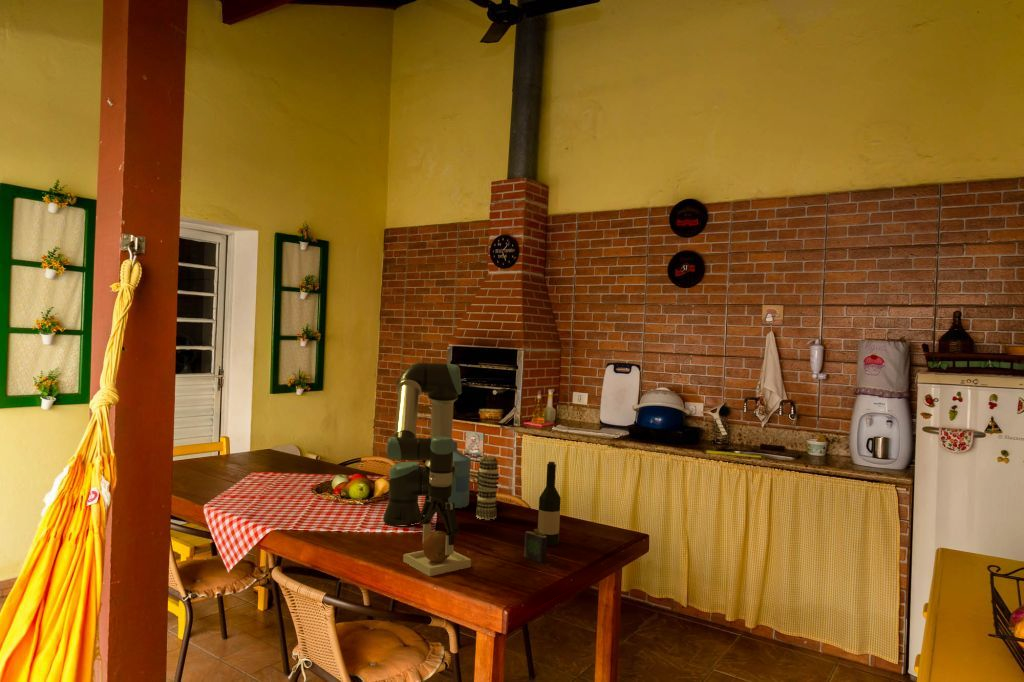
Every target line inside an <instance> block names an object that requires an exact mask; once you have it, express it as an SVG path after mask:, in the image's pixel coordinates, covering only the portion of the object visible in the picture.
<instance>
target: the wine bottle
mask: <svg viewBox="0 0 1024 682" xmlns="http://www.w3.org/2000/svg"><path fill="white" fill-rule="evenodd" d="M556 470H557V464H556V461H548V463H547V464H546V479H545V480H546V483H545V488H544V490H543V491H542V493H541V494H540V496H539V498H538V516H537V517H538V519H537V520H538V521H537V529H539V530H538V531H539V532H540V534H542V535H543V534H544V536H546V537H547V545H554V546H557V545H556V544H558V545H559V543H558V542H560V540H559V539H560V520H561V519H560V517H561V500H562V499H561V495H560V494H559V491H558V490H557V488H556V472H557V471H556Z"/></svg>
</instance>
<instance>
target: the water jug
mask: <svg viewBox="0 0 1024 682" xmlns="http://www.w3.org/2000/svg"><path fill="white" fill-rule="evenodd" d="M453 441H454V450H453V462H454V466H455V467H457V470H458V471H457V480H456V486H455V490H454V493H453V494H452V495H451V496H450V497H449V498H448V501H449V503H454V504H455V508H459V509H464V508H466V507H468V505H470V486H471V478H470V477H471V467H472V466H471V465H472V463H471V458H470V456H467V455H466V454H464V453H462V452H460V451H458V443H459V441H457V440H456V441H455V440H453ZM463 507H464V508H463Z"/></svg>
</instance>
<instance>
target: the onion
mask: <svg viewBox="0 0 1024 682" xmlns="http://www.w3.org/2000/svg"><path fill="white" fill-rule="evenodd" d="M446 534H447V532H445V531H443V530H434V531H431V533H430V534H428V535H427V536H426V538H425V540H424V543H423V544H422V550H423V551H424V555H425V556H426V557H427V558H428V559H429V560H431V561H432V562H442V561H444V560H446V559H447V558H448V557H449V556H450V555H445V545H446Z"/></svg>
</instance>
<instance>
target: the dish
mask: <svg viewBox="0 0 1024 682" xmlns="http://www.w3.org/2000/svg"><path fill="white" fill-rule="evenodd" d="M402 558H403V559H402V560H403V561H402V562H403V563H405V564H406V563H407V564H406V565H408V564H409V566H410V567H412V568H414V569H416V570H417V571H419V572H421V573H422V574H424V575H427V576H428V577H432V576H433V577H434V576H437V575H441V574H446V572H447V573H450V572H455V571H459V569H460V570H463V569H467V568H472V559H471V558H469V557H467V556H465V555H463V554H460V553H459V552H457V551H455V550H453V554H451V555H450V556H449V557H448V558H447V559H446V560H444V561H442V562H432V561H431V560H429V559H428V558H427V557H426V556H425V555H424V551H423V549H422V550H418V551H413V552H409V553H404V554H403V557H402Z"/></svg>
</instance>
